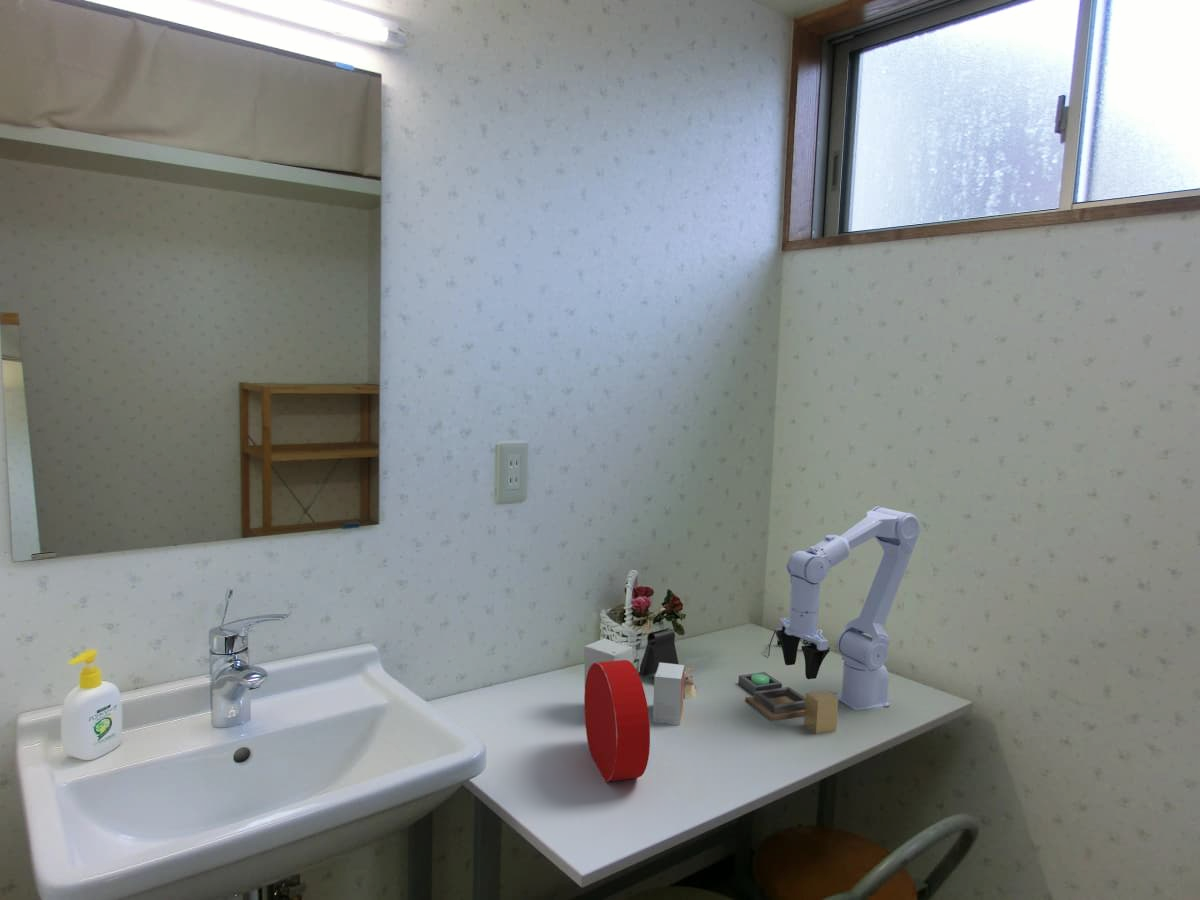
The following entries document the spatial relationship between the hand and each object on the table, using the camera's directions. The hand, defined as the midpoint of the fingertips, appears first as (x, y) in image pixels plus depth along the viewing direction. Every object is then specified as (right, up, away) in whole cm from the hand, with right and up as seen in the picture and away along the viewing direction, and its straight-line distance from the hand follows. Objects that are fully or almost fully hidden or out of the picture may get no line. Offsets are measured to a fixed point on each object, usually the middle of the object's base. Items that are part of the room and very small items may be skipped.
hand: (800, 671), depth 163 cm
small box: (-28, -9, -3) cm, 30 cm away
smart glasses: (+8, -7, +37) cm, 39 cm away
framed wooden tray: (-3, -9, +4) cm, 10 cm away
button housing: (-6, -8, +13) cm, 16 cm away
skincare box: (-41, -9, -4) cm, 42 cm away
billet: (+3, -10, -5) cm, 12 cm away
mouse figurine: (-24, -8, +9) cm, 27 cm away
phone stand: (-29, -7, +16) cm, 34 cm away
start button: (-6, -7, +13) cm, 16 cm away
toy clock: (-40, -11, -25) cm, 49 cm away
